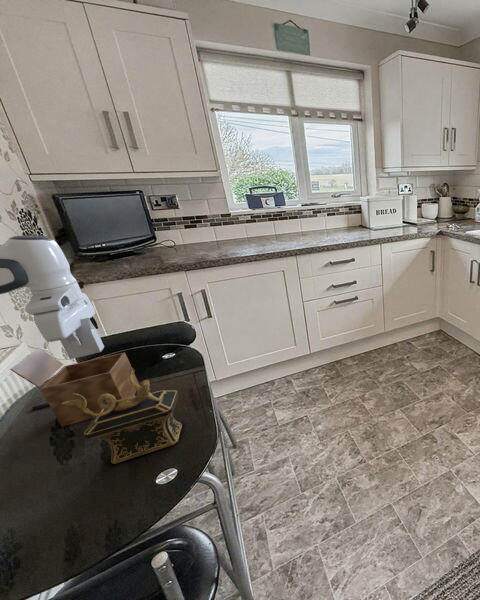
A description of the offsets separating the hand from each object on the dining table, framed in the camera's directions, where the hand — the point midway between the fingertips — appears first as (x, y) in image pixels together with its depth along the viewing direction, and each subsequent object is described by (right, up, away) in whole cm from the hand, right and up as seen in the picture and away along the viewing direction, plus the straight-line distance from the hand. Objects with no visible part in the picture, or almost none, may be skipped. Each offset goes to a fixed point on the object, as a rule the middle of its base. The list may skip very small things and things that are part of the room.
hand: (81, 341), depth 92 cm
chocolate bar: (-15, -18, +14) cm, 28 cm away
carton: (0, -20, +7) cm, 21 cm away
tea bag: (0, -3, +1) cm, 4 cm away
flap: (-10, -6, -2) cm, 12 cm away
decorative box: (+26, -24, -11) cm, 37 cm away
